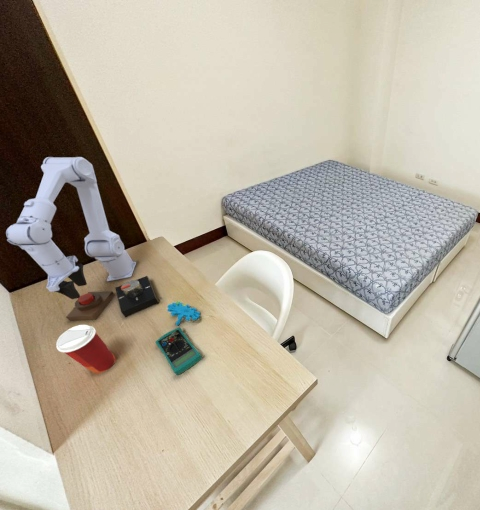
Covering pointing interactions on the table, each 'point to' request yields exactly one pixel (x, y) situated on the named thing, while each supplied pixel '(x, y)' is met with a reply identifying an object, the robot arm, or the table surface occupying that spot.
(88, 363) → the paper cup
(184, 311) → the blue toy tree
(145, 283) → the dial panel
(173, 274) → the table surface
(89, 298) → the button
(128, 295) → the dial
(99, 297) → the button block
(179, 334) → the digital multimeter
